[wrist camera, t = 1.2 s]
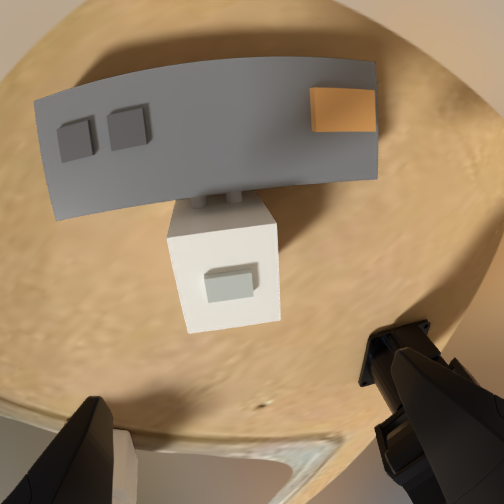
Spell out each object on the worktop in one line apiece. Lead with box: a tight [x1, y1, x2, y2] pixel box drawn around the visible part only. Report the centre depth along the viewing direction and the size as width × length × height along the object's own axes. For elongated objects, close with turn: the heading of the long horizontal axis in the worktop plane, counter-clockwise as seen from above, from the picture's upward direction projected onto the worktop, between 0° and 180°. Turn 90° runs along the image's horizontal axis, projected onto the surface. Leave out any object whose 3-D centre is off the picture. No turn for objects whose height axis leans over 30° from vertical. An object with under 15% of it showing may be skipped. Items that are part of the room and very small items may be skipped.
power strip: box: [34, 56, 378, 221], centre depth 14 cm, size 6×16×4 cm, turn 94°
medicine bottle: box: [65, 421, 138, 504], centre depth 21 cm, size 7×7×12 cm
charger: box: [167, 190, 281, 334], centre depth 15 cm, size 8×4×6 cm, turn 4°
